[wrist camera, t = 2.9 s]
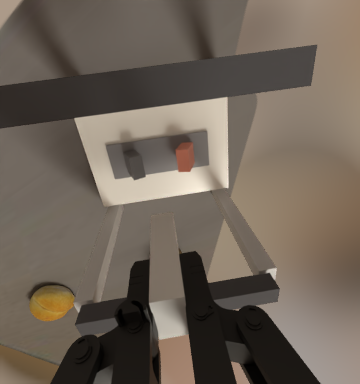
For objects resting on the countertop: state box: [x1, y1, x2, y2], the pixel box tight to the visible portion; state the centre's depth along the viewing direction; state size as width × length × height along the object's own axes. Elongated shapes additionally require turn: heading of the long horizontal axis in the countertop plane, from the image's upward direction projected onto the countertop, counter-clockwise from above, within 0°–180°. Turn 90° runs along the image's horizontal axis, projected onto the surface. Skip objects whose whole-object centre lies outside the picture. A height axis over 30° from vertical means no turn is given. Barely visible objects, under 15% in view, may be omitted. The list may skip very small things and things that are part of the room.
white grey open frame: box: [73, 97, 277, 313], centre depth 25 cm, size 20×20×20 cm
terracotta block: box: [176, 142, 195, 172], centre depth 28 cm, size 2×3×3 cm, turn 7°
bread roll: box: [29, 285, 75, 321], centre depth 45 cm, size 8×9×4 cm
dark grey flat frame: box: [0, 45, 317, 336], centre depth 15 cm, size 18×20×2 cm
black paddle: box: [123, 150, 146, 180], centre depth 28 cm, size 2×3×3 cm, turn 6°
